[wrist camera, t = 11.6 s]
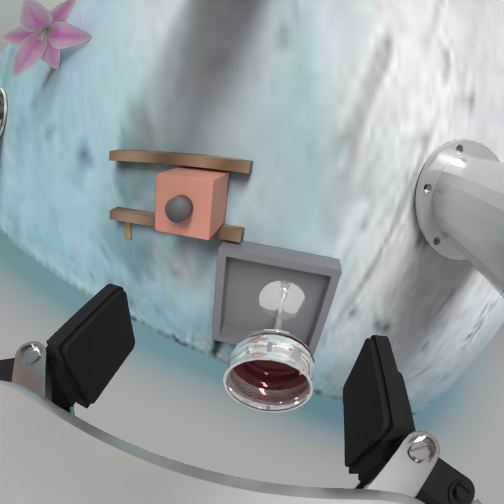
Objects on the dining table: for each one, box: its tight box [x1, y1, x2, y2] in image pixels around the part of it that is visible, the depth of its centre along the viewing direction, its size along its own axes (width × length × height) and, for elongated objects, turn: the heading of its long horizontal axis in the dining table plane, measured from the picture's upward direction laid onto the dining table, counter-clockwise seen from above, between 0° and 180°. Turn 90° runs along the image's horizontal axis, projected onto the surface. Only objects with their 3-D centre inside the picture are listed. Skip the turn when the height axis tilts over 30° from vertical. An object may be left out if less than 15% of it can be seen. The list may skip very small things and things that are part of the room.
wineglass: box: [223, 281, 314, 413], centre depth 24 cm, size 7×7×12 cm
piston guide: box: [109, 150, 253, 243], centre depth 27 cm, size 15×10×2 cm
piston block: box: [155, 166, 230, 240], centre depth 24 cm, size 5×5×6 cm
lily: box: [1, 0, 92, 76], centre depth 18 cm, size 12×12×10 cm
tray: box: [212, 240, 342, 357], centre depth 29 cm, size 12×12×2 cm
